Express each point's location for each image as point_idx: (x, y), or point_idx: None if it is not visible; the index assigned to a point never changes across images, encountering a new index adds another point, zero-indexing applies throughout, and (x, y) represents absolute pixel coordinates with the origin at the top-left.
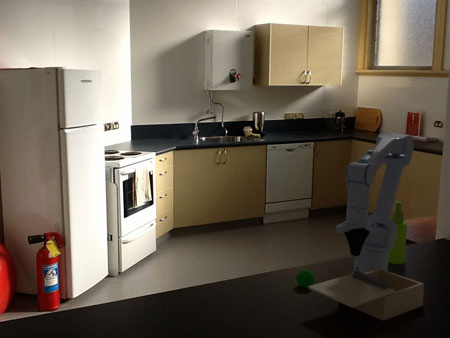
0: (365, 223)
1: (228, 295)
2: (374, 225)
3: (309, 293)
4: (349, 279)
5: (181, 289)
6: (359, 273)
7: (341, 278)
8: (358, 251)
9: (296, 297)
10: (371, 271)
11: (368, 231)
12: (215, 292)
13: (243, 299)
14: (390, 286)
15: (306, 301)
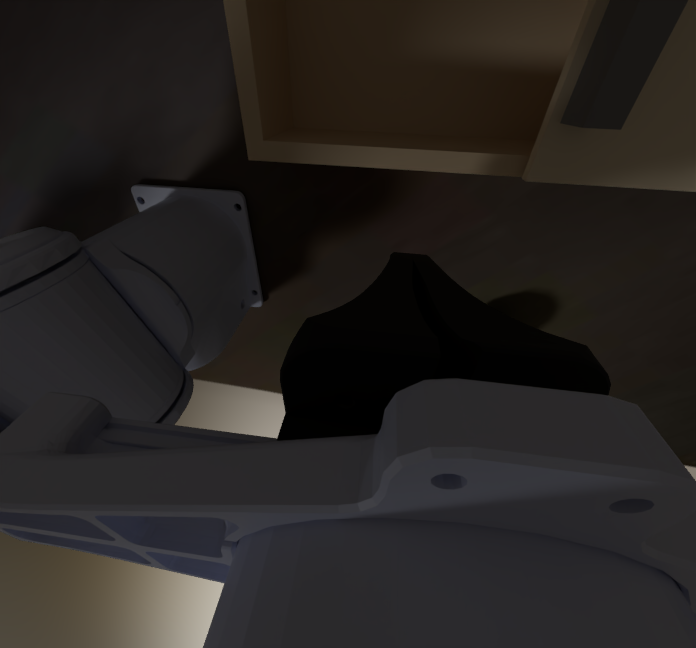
0: (513, 585)
1: (686, 402)
2: (70, 419)
3: (532, 286)
4: (659, 110)
5: (691, 465)
6: (654, 50)
7: (658, 166)
8: (422, 264)
9: (600, 291)
10: (333, 158)
11: (340, 348)
12: (676, 425)
13: None
14: (277, 35)
15: (624, 248)
